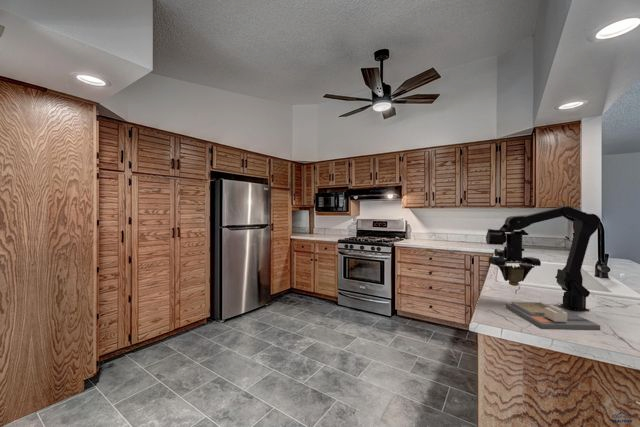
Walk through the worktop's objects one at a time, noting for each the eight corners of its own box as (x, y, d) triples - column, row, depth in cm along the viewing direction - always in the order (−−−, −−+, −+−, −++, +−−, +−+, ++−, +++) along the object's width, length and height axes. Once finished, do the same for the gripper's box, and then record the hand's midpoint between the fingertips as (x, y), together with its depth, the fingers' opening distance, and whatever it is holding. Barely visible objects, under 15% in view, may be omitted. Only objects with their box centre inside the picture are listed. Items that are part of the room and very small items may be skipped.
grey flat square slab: (553, 308, 113) (553, 304, 113) (600, 329, 93) (600, 325, 93) (506, 307, 114) (506, 303, 114) (541, 328, 94) (542, 323, 94)
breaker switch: (555, 316, 100) (555, 305, 100) (567, 322, 95) (567, 310, 95) (544, 316, 100) (544, 304, 100) (555, 321, 95) (555, 309, 95)
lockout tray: (540, 305, 113) (540, 302, 113) (564, 316, 101) (564, 312, 101) (511, 304, 113) (511, 301, 113) (531, 315, 102) (531, 312, 102)
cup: (527, 288, 115) (528, 269, 115) (508, 287, 116) (508, 268, 116) (518, 283, 122) (519, 265, 122) (500, 282, 124) (500, 264, 123)
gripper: (523, 242, 126) (523, 276, 127) (482, 242, 128) (481, 276, 128) (541, 246, 115) (541, 283, 116) (496, 246, 116) (495, 282, 117)
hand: (513, 280), depth 119 cm, fingers closed on cup, 6 cm apart
